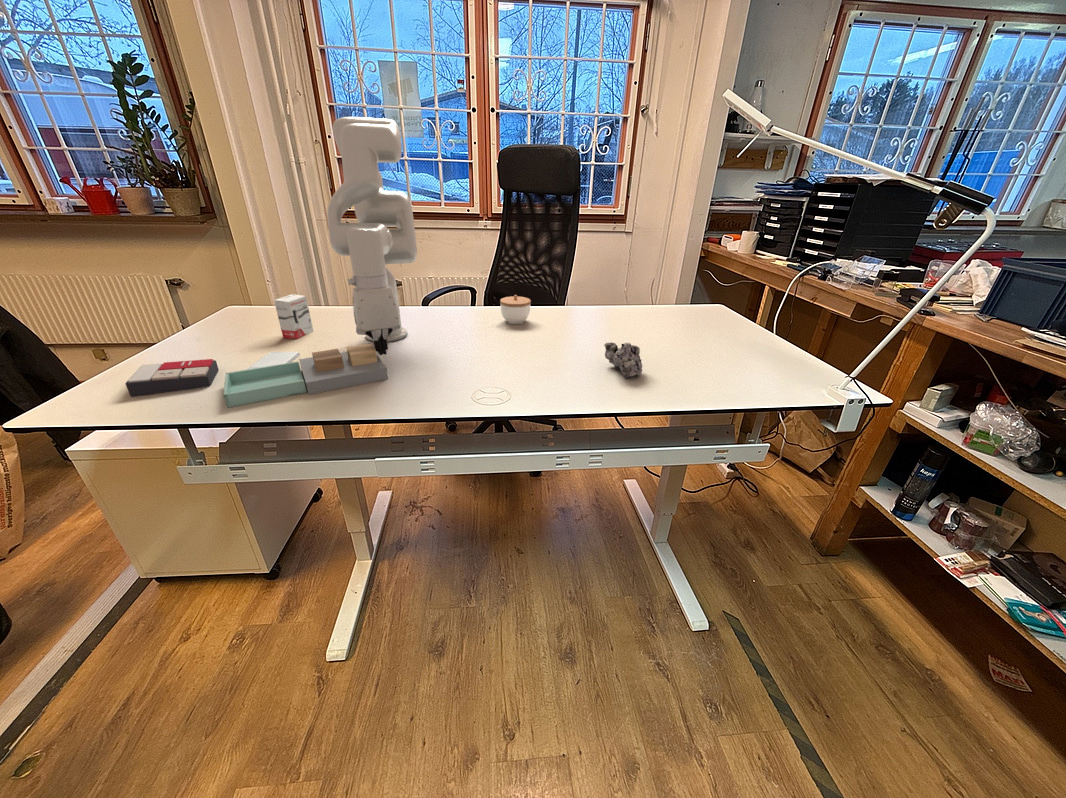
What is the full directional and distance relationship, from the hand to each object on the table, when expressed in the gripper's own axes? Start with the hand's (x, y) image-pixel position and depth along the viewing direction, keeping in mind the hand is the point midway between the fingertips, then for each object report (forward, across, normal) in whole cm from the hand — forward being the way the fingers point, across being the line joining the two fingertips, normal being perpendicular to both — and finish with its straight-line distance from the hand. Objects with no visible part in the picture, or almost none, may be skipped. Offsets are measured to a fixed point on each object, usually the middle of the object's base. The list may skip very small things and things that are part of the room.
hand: (382, 353), depth 110 cm
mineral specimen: (+4, +55, -34) cm, 64 cm away
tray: (+4, -27, 0) cm, 27 cm away
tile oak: (+1, -5, 0) cm, 5 cm away
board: (+4, -10, 0) cm, 11 cm away
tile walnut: (+1, -13, 0) cm, 13 cm away
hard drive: (+5, -25, +16) cm, 30 cm away
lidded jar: (+4, +51, +20) cm, 55 cm away
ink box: (+4, -17, +39) cm, 43 cm away
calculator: (+5, -45, +14) cm, 48 cm away
